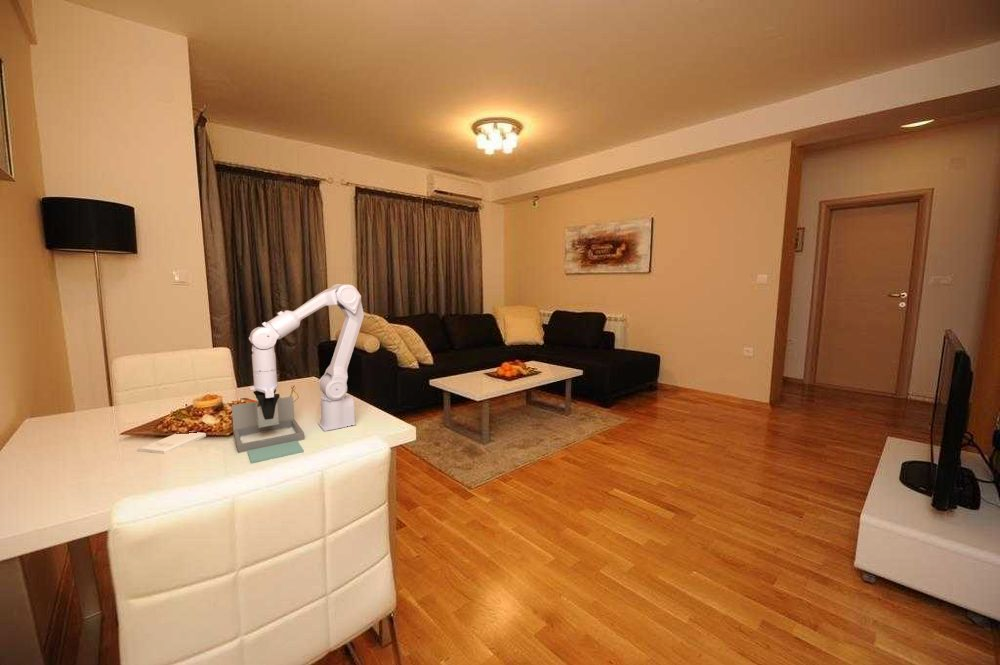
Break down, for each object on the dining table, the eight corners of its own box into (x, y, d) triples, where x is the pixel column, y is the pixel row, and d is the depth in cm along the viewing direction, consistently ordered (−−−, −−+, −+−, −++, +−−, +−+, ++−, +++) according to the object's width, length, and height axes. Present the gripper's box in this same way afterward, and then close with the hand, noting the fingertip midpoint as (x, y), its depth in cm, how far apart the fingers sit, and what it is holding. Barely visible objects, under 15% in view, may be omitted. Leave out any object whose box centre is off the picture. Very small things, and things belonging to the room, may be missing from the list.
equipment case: (294, 424, 129) (292, 396, 128) (304, 439, 117) (302, 408, 116) (233, 435, 120) (231, 405, 119) (238, 452, 108) (235, 419, 107)
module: (276, 420, 121) (275, 400, 120) (278, 424, 118) (277, 403, 117) (256, 423, 118) (255, 403, 117) (258, 427, 115) (257, 406, 114)
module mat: (297, 442, 115) (297, 440, 115) (303, 451, 109) (303, 450, 109) (247, 452, 108) (247, 450, 108) (250, 463, 102) (250, 461, 102)
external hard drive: (206, 438, 119) (164, 456, 107) (182, 435, 120) (138, 453, 108) (205, 432, 119) (164, 450, 107) (181, 430, 120) (137, 447, 108)
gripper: (245, 366, 119) (248, 412, 121) (251, 376, 108) (254, 426, 109) (273, 364, 123) (275, 408, 125) (281, 373, 112) (284, 421, 113)
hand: (267, 416), depth 117 cm, fingers closed on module, 4 cm apart
